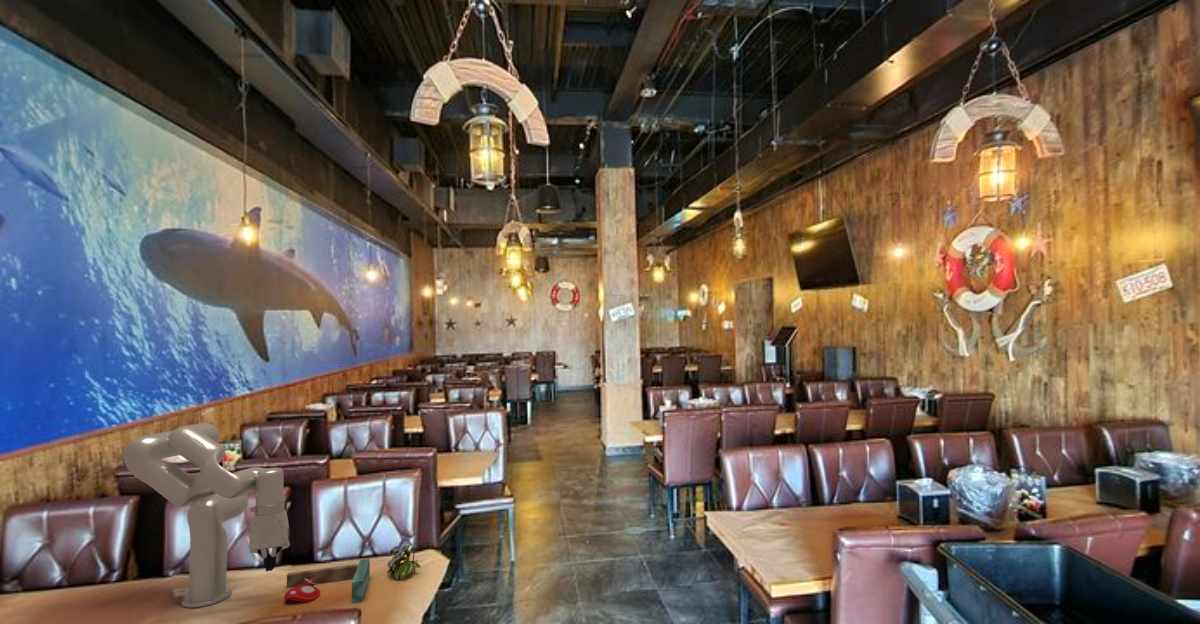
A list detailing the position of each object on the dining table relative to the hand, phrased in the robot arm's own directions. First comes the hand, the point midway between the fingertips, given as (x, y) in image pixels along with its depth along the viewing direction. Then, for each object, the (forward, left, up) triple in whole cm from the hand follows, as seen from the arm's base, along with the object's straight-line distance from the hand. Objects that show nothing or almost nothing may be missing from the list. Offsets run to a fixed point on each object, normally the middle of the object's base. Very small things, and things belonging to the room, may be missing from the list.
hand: (270, 569), depth 165 cm
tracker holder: (+10, 0, -10) cm, 14 cm away
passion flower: (+39, +7, -10) cm, 41 cm away
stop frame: (+15, 0, -9) cm, 18 cm away
